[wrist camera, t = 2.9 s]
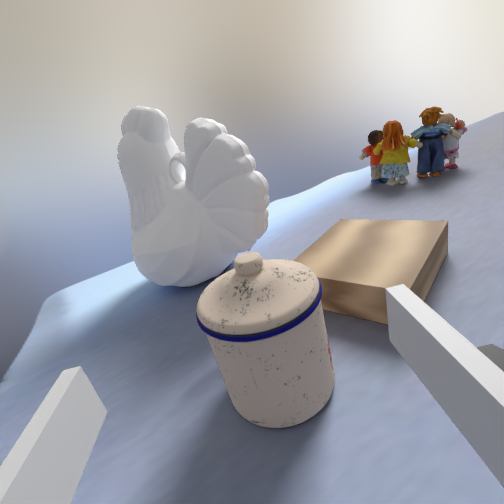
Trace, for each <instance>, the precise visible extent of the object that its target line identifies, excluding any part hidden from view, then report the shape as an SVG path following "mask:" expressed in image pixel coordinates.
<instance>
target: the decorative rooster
mask: <svg viewBox="0 0 504 504" xmlns="http://www.w3.org/2000/svg"><path fill="white" fill-rule="evenodd" d="M121 130H122V135H123V138H122V139H121V141H120V143H119V145H118V155H117V157H118V159H119V167H120V170H121V173H122V176H123V179H124V182H125V185H126V188H127V192H128V197H129V203H130V215H131V230H133V234H132V255H133V259H134V261H135V264H136V266H137V268H138V270H139V272H140V273H141V274H142V275H143V276H145V277H146V278H147V279H149V280H150V281H152V282H153V283H156V284H158V285H162V286H170V285H173V286H179V287H187V286H194V285H197V284H199V283H202V282H204V281H206V280H209V279H211V278H213V277H216V276H218V275H219V274H221V272H222V271H223V270H224V269H226V268H227V267H228V266H229V265H230V264H231V263H232V262H233V260H234V259H235V258H236V256H237V254H238V253H241V252H245V251H250V250H251V248H252V246H253V245H254V244H255V243H256V241H257V239H259V238H260V237H261V236H262V235H263V234H264V233H265V232H266V230H267V227H268V210H267V209H266V208H267V207H268V205H269V196H268V183H267V181H266V179H265V177H264V176H263V175H262V174H261V173H259V172H257V171H254V169H255V167H256V162H255V159H254V158H253V157H252V156H251V155H250V153H249V149H248V147H247V146H246V144H244V142H242V141H241V140H240V139H238V138H237V137H235V136H232V135H228V134H227V129H226V127H225V126H224V125H223V124H221V123H217V122H216V121H214V120H212V119H206V118H198V119H196V120H194V121H192V122H190V123H189V124H188V125H187V126H186V130H185V136H184V147H185V153H184V152H180V151H179V149H178V147H177V145H176V143H175V141H174V140H173V138H172V137H171V136H170V129H169V123H168V120H167V118H166V116H165V115H164V114H163V112H161V111H160V110H158V109H155V108H148V107H145V106H136V107H134V108H132V109H131V110H130V111H129V113H128V114H127V115H126V116H125V117H124V119H123V122H122V125H121Z"/></svg>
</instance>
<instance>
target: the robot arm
mask: <svg viewBox="0 0 504 504" xmlns="http://www.w3.org/2000/svg"><path fill="white" fill-rule="evenodd" d="M385 290H386V303H387V315H388V328H389V340H390V342H391V343H392V344H393V346H394V347H395V348H396V349H397V351H398V352H399V353H400V355H401V356H402V357H403V358H404V360H405V361H406V362H407V364H408V365H409V366H410V368H411V369H412V370H413V371H414V373H415V374H416V375H417V377H418V378H419V379H420V380H421V382H422V383H423V384H424V386H425V387H426V388H427V389H428V391H429V392H430V393H431V395H432V396H433V397H434V398H435V400H436V401H437V402H438V404H439V405H440V406H441V407H442V409H443V410H444V411H445V413H446V414H447V415H448V416H449V418H450V419H451V420H452V422H453V423H454V424H455V425H456V427H457V428H458V429H459V431H460V432H461V433H462V435H463V436H464V437H465V438H466V440H467V441H468V442H469V444H470V445H471V446H472V447H473V449H474V450H475V451H476V453H477V454H478V455H479V456H480V458H481V459H482V460H483V462H484V463H485V464H486V465H487V467H488V468H489V469H490V471H491V472H492V473H493V474H494V476H495V477H496V478H497V480H498V481H499V482H500V483H501V485H502V486H503V487H504V349H501V348H499V347H497V346H495V345H493V344H489V345H485V346H481V347H477V348H476V347H475V346H474V345H472V344H471V343H470V342H469V341H468V340H467V339H466V338H465V337H463V336H462V335H461V334H460V333H459V332H458V331H457V330H455V329H454V328H453V327H452V326H451V325H450V324H449V323H447V322H446V321H445V320H444V319H443V318H442V317H441V316H439V315H438V314H437V313H436V312H435V311H434V310H433V309H431V308H430V307H429V306H428V305H427V304H426V303H425V302H423V301H422V300H421V299H420V298H419V297H418V296H417V295H415V294H414V293H413V292H412V291H411V290H410V289H409V288H407V287H406V286H405V285H404V284H401V285H397V286H393V287H389V288H385ZM107 412H108V411H107V410H106V408H105V406H104V405H103V403H102V401H101V400H100V398H99V396H98V394H97V393H96V391H95V389H94V388H93V386H92V384H91V383H90V381H89V379H88V377H87V376H86V374H85V372H84V371H83V369H82V367H81V366H78V367H74V368H70V369H66V370H63V371H62V373H61V374H60V376H59V377H58V379H57V380H56V382H55V383H54V385H53V386H52V388H51V389H50V391H49V393H48V394H47V396H46V397H45V399H44V400H43V402H42V403H41V405H40V406H39V408H38V409H37V411H36V413H35V414H34V416H33V417H32V419H31V420H30V422H29V423H28V425H27V426H26V428H25V429H24V431H23V433H22V434H21V436H20V437H19V439H18V440H17V442H16V443H15V445H14V446H13V448H12V449H11V451H10V452H9V454H8V456H7V457H6V459H5V460H4V462H3V463H2V465H1V466H0V504H71V502H72V499H73V497H74V494H75V492H76V489H77V487H78V484H79V482H80V479H81V477H82V474H83V472H84V469H85V467H86V464H87V462H88V459H89V457H90V454H91V452H92V449H93V447H94V444H95V442H96V439H97V437H98V434H99V432H100V429H101V427H102V424H103V422H104V419H105V417H106V414H107Z"/></svg>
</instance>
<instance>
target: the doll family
mask: <svg viewBox="0 0 504 504" xmlns="http://www.w3.org/2000/svg"><path fill="white" fill-rule="evenodd" d="M439 112H442V113H443V111H442V110H441V108H438V107H431V108H427V109H425V110H424V111H423V112H422V113H421V115H420V116H419V117H422V123H423V125H424V126H421V127H420V128H419V129H417V130H415V131H414V132H412V133H411V135H412V137H411V138H410V137H409V136H406V135H405V136H403V130H402V126H401V124H400V123H399V122H398V121H388V122H387V123H386V124H385V125H384V128H383V132H382V131H378V130H375V131H372V132H370V134H369V136H368V142H369V143H370V144H371V145H370V146H367V147H366V148H364V149H363V150H362V152H363V153H362V155H361V156H360V159H361V160H363V159H364V158H365V157H368V156H371V157H370V158H371V162H370V163H371V177H372V180H371V182H372V183H380V182H381V181H383V182H386V181H387V183H386V184H387V185H397V184H398V183H400V184H404V183H407V179H406V178H405V176H407V175H409V170H408V165H407V162H410V158H409V154H408V147H411V148H415V147H418V148H419V149H418V165H417V173H418V174H417V176H419V177H428V175H427V173H428V172H430V174H429V175H431V176H440V171H443V170H446V168H449V169H453V168H457V167H458V166H457V165H456V164H455V158H458V149H459V138H460V137H461V135H463V134H464V132H466V131H467V128H466V127H464V126H465V123H464V121H462V120H459V121H458V120H457V118H456V120H457V122H456V123H455V118H454V116H453V115H452V114H450V113H449V114H443V115H441V114H440V113H439ZM438 119H439V121H438ZM437 121H438V123H437ZM451 127H454V128H452V129H451ZM413 138H414V139H413ZM418 139H420V140H419V142H418V141H417V140H418ZM382 140H383V141H382ZM446 158H447V159H449V163H447V164H446V165H445V166H444V159H446ZM395 178H398V179H397V181H396V180H395Z"/></svg>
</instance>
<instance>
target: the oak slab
mask: <svg viewBox="0 0 504 504" xmlns="http://www.w3.org/2000/svg"><path fill="white" fill-rule="evenodd" d="M447 253H448V221H413V220H361V219H340V220H339V221H338V222H337V223H336V224H335V225H334V226H332V227H331V228H330V229H329V230H328V231H327V232H326V233H324V234H323V235H322V236H321V237H320V238H319V239H318V240H316V241H315V242H314V243H313V244H312V245H311V246H310V247H308V248H307V249H306V250H305V251H304V252H303V253H302V254H300V255H299V256H298V257H297V258H296V259H295V260H294V261H295V262H299V263H301V264H303V265H305V266H307V267H309V268H310V269H311V270H312V271H313V272H314V273H315V274H316V276H317V278H318V279H319V281H320V283H321V286H322V297H321V305H322V309H323V310H327V311H331V312H336V313H340V314H344V315H349V316H353V317H357V318H361V319H366V320H370V321H374V322H379V323H383V324H387V325H388V315H387V303H386V290H385V288H389V287H393V286H397V285H401V284H404V285H405V286H406V287H407V288H409V289H410V290H411V291H412V292H413V293H414V294H415V295H417V296H418V297H419V298H420V299H421V300H422V301H423V302H424V301H425V299H426V297H427V295H428V293H429V291H430V288H431V286H432V284H433V282H434V280H435V278H436V276H437V274H438V272H439V270H440V268H441V266H442V264H443V261H444V259H445V257H446V255H447Z"/></svg>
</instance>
